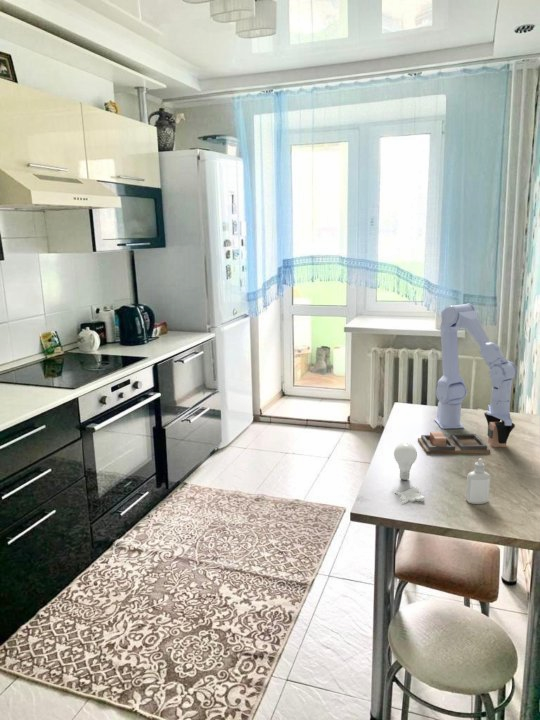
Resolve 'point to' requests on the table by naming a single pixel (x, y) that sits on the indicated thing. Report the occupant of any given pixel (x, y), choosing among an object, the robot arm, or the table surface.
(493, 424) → the pinkish brown block
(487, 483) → the eye dropper bottle
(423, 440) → the brown flat tray
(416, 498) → the acanthus leaf ornament
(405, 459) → the lightbulb
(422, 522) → the table surface
